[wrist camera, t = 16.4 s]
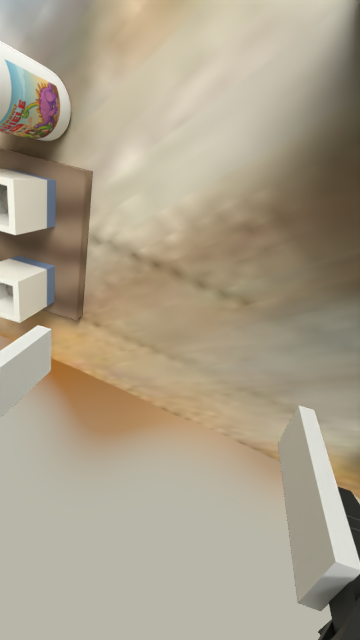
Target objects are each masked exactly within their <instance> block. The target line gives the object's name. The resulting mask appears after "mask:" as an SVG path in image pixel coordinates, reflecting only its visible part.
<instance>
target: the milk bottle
mask: <svg viewBox="0 0 360 640" xmlns="http://www.w3.org/2000/svg"><path fill="white" fill-rule="evenodd" d="M70 117H71V106H70V100H69V96H68V93H67V91H66V88H65V86H64V84H63V83H62V81H61V80H60V79H59V77H58V76H57V75H56V74H55V73H53V72H52V71H51V70H49V69H48V68H46V67H44V66H43V65H41V64H39V63H38V62H36V61H34V60H33V59H31V58H29V57H27V56H26V55H24V54H22V53H20V52H19V51H17V50H15V49H14V48H12V47H10V46H8V45H6V44H5V43H3V42H1V41H0V132H4V133H8V134H13V135H18V136H22V137H27V138H32V139H37V140H42V141H52V140H55V139H57V138H59V137H60V136H61V135H62V134H63V133H64V132H65V130H66V129H67V127H68V124H69V121H70Z"/></svg>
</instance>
